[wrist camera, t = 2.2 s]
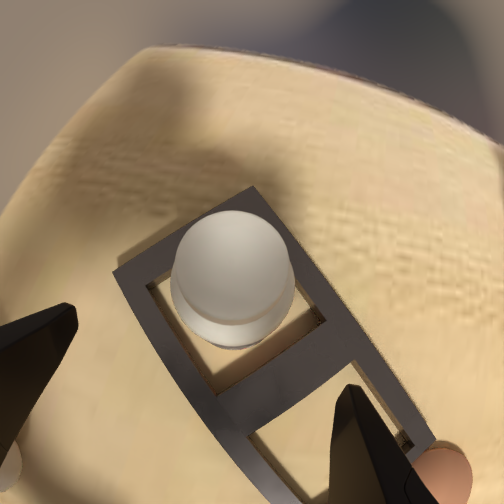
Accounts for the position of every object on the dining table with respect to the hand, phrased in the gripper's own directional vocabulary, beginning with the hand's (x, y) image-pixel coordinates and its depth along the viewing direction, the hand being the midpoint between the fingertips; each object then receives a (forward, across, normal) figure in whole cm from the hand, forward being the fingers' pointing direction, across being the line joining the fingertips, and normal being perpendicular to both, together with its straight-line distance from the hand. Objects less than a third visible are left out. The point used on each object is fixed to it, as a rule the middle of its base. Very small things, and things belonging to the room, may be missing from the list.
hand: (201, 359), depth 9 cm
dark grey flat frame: (+7, -4, +7) cm, 11 cm away
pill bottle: (+10, 0, +5) cm, 11 cm away
